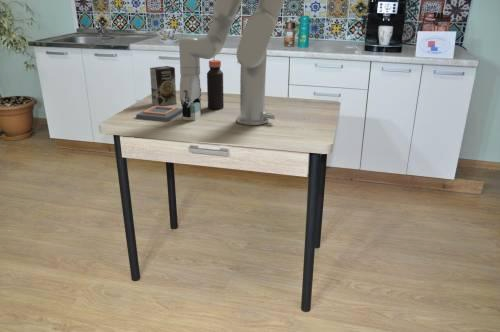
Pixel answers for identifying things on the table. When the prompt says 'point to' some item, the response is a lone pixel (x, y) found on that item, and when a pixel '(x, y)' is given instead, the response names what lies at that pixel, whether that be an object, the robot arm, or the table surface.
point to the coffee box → (163, 85)
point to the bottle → (215, 85)
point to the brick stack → (194, 111)
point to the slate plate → (160, 113)
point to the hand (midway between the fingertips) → (191, 113)
